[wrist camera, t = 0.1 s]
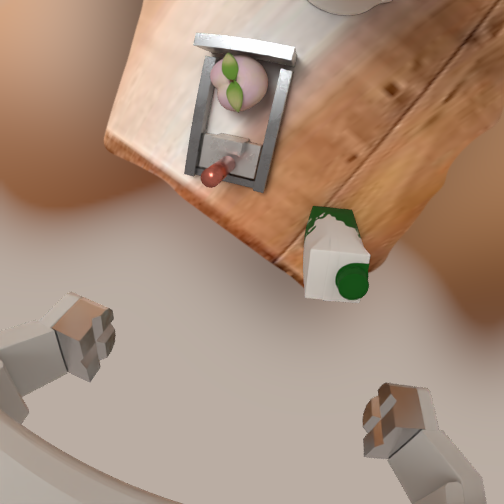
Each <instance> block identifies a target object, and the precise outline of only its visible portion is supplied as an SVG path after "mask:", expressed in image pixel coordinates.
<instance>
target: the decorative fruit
mask: <svg viewBox="0 0 504 504" xmlns="http://www.w3.org/2000/svg"><path fill="white" fill-rule="evenodd" d="M210 78H211V82H212V84H213V85H214V86H215V87H216V88H217V89H218V92H217V96H218V100H219V102H220V104H221V105H222V106H223V107H224V108H226V109H227V110H230V111H237V112H238V113H239V111H244V110H247V109H249V108H251V107H253V106H254V105H256V104H257V103H258V102H260V101H261V100H262V98H263V97H264V96H265V94H266V91H267V88H268V77H267V74H266V72H265V69H264V68H263V66H262V65H261V64H260V63H259V62H258V61H257V60H255V59H254V58H252V57H249V56H246V55H235V56H233V55H231V54H230V53H229V52H228V53H227V54H226V55H225V57H224V58H223V59H221V60H220V61H218V62H217V63H216V64H215V65H214V66H213V68H212V70H211V73H210Z"/></svg>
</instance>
